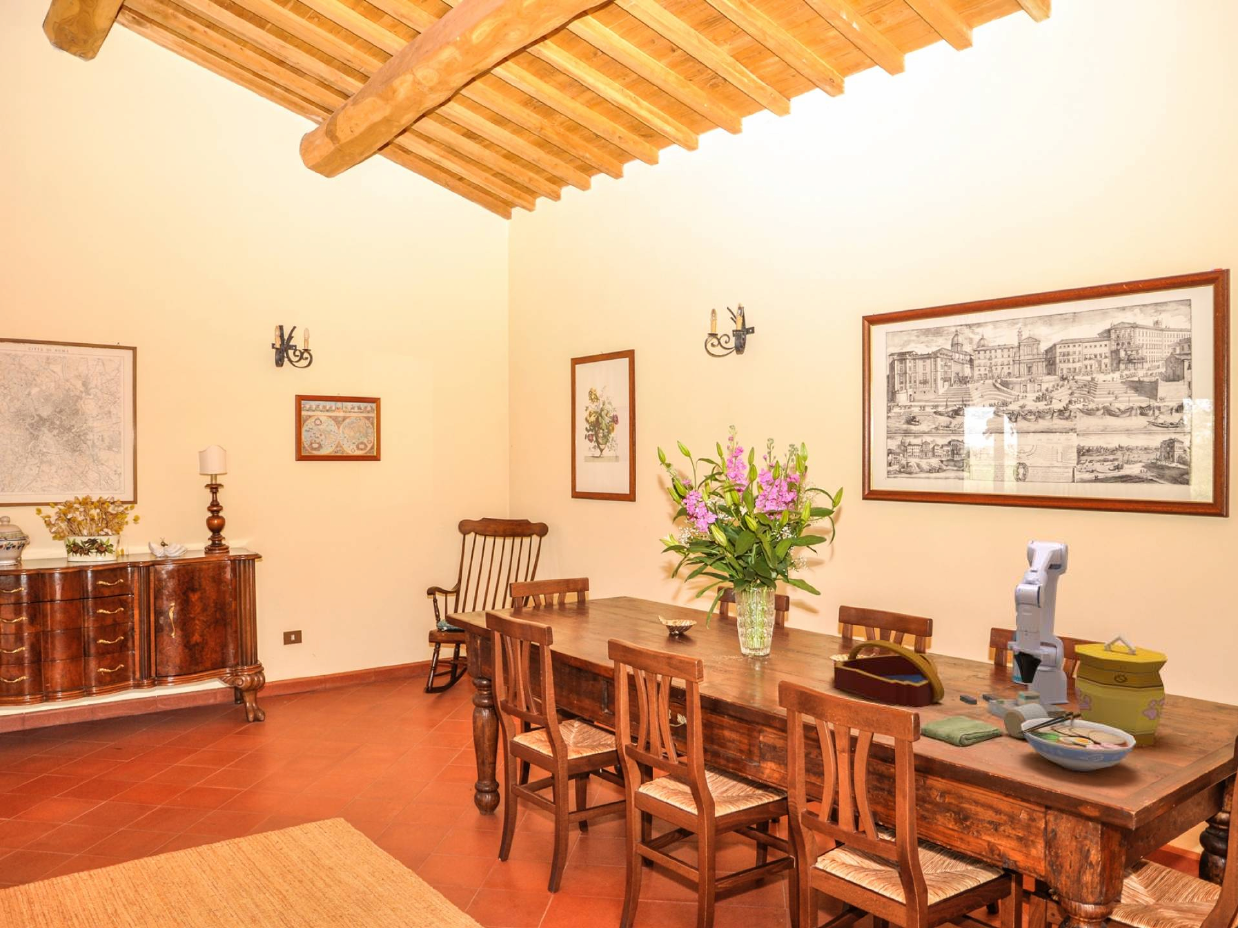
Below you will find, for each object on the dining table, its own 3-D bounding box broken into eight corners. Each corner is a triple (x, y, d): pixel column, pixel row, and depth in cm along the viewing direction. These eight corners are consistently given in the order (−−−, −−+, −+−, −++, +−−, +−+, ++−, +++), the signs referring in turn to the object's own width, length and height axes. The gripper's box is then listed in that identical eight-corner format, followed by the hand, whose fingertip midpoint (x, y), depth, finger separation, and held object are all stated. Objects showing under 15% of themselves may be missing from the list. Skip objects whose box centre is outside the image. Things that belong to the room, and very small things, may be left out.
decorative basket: (814, 690, 275) (809, 641, 273) (888, 666, 287) (884, 619, 286) (896, 723, 244) (891, 667, 243) (975, 695, 257) (971, 642, 256)
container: (1090, 718, 241) (1092, 622, 240) (1181, 738, 225) (1183, 635, 224) (1054, 734, 227) (1056, 632, 226) (1148, 756, 211) (1151, 647, 210)
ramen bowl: (1099, 793, 187) (1100, 753, 187) (996, 761, 206) (996, 725, 206) (1157, 770, 202) (1158, 732, 202) (1056, 742, 220) (1056, 707, 220)
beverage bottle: (1013, 684, 275) (1014, 617, 275) (1010, 677, 283) (1011, 612, 283) (1044, 686, 273) (1045, 619, 272) (1040, 680, 281) (1041, 614, 281)
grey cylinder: (1000, 733, 226) (1001, 702, 226) (1024, 729, 230) (1025, 699, 230) (1036, 747, 217) (1037, 715, 216) (1061, 743, 220) (1062, 711, 220)
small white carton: (1031, 715, 243) (1032, 690, 243) (1038, 718, 240) (1039, 693, 240) (1017, 716, 242) (1018, 691, 242) (1024, 719, 239) (1025, 694, 239)
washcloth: (1006, 737, 225) (1006, 724, 225) (961, 749, 215) (962, 736, 215) (959, 723, 236) (959, 711, 236) (914, 735, 226) (914, 721, 226)
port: (1035, 709, 248) (1035, 695, 248) (1065, 722, 236) (1066, 708, 236) (988, 712, 245) (988, 698, 245) (1017, 725, 233) (1017, 710, 233)
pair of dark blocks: (988, 698, 259) (989, 693, 259) (999, 703, 254) (999, 698, 254) (959, 699, 257) (960, 695, 257) (970, 704, 252) (970, 700, 252)
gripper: (997, 625, 247) (996, 676, 247) (1032, 636, 232) (1031, 690, 233) (1021, 624, 248) (1020, 675, 248) (1057, 635, 234) (1056, 689, 234)
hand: (1027, 682), depth 241 cm, fingers closed
